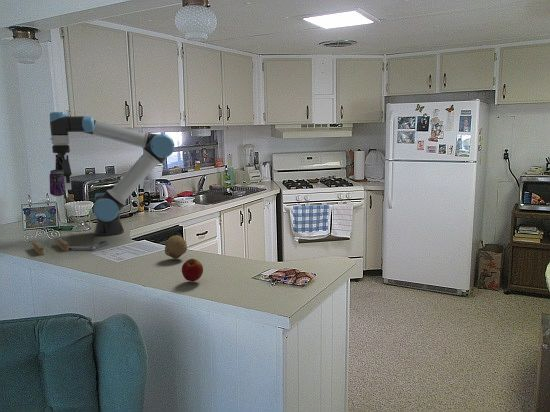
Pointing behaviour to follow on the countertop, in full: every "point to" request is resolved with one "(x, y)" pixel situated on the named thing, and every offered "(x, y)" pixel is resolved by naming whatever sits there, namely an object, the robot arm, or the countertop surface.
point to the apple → (192, 270)
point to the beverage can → (57, 183)
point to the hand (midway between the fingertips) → (64, 188)
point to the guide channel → (60, 243)
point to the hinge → (88, 247)
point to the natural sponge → (175, 247)
